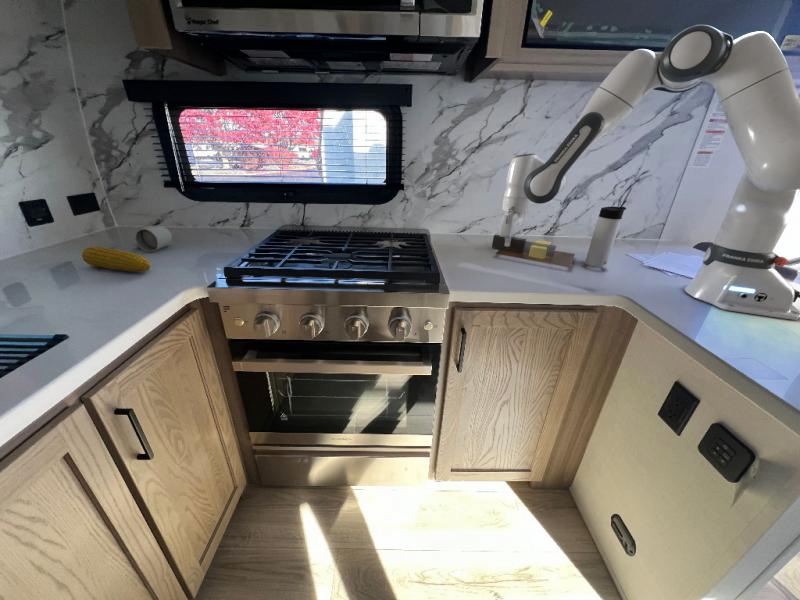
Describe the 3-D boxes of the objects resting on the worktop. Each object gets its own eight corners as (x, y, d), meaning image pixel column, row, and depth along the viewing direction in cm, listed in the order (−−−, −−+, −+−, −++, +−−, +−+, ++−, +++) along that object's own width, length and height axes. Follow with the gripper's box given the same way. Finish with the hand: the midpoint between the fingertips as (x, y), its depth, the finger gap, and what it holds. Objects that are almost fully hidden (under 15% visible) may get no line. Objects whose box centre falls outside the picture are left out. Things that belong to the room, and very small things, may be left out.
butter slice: (545, 257, 114) (547, 247, 112) (543, 259, 111) (546, 249, 110) (530, 254, 116) (532, 244, 114) (528, 256, 113) (530, 246, 112)
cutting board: (573, 257, 119) (574, 253, 118) (569, 271, 105) (570, 267, 105) (506, 246, 129) (507, 242, 129) (494, 257, 116) (495, 253, 115)
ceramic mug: (176, 245, 116) (170, 223, 113) (161, 252, 109) (153, 229, 105) (147, 244, 116) (140, 222, 113) (129, 251, 109) (121, 228, 105)
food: (82, 268, 94) (74, 248, 91) (102, 262, 99) (95, 243, 96) (143, 276, 90) (137, 255, 88) (161, 269, 95) (155, 249, 93)
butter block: (548, 251, 120) (550, 242, 118) (545, 256, 114) (548, 246, 113) (534, 248, 122) (536, 239, 121) (530, 253, 117) (532, 244, 115)
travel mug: (609, 272, 106) (630, 208, 97) (587, 270, 107) (605, 207, 99) (602, 266, 112) (621, 205, 103) (581, 264, 113) (598, 204, 104)
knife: (553, 256, 114) (556, 243, 112) (552, 258, 112) (555, 245, 110) (493, 245, 123) (495, 234, 121) (491, 247, 121) (493, 235, 119)
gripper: (518, 210, 103) (510, 253, 109) (530, 202, 119) (523, 240, 125) (498, 208, 106) (491, 250, 112) (513, 200, 122) (506, 237, 128)
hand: (508, 244), depth 119 cm, fingers closed on knife, 2 cm apart
